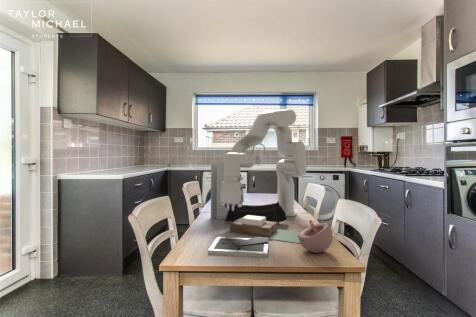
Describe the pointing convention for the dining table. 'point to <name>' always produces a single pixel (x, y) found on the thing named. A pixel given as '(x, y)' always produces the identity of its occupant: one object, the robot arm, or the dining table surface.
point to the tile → (253, 220)
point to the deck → (253, 228)
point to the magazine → (260, 212)
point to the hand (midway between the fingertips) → (231, 218)
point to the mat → (286, 236)
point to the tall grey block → (217, 190)
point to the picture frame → (240, 246)
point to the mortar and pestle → (316, 237)
